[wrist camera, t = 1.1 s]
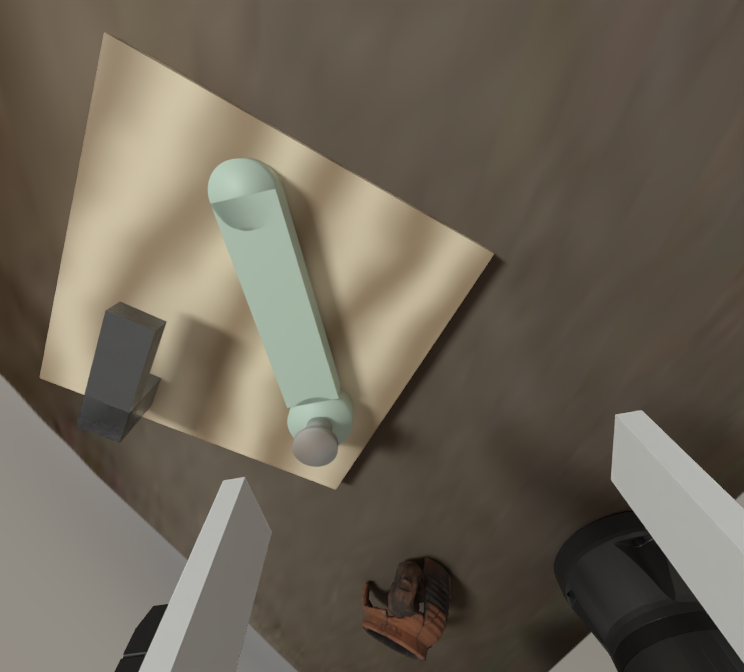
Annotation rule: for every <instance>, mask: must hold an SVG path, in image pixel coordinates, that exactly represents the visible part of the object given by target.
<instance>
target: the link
mask: <svg viewBox="0 0 744 672" xmlns="http://www.w3.org/2000/svg"><path fill="white" fill-rule="evenodd" d="M208 197H209V201H210V204H211V207H212V210H213V212H214V215H215V218H216V220H217V223H218V226H219V228H220V231H221V233H222V236H223V239H224V241H225V244H226V247H227V249H228V252H229V255H230V257H231V260H232V263H233V265H234V268H235V271H236V273H237V276H238V279H239V281H240V284H241V287H242V289H243V292H244V295H245V297H246V300H247V303H248V305H249V308H250V311H251V313H252V316H253V319H254V321H255V324H256V327H257V329H258V332H259V335H260V337H261V340H262V343H263V345H264V348H265V351H266V353H267V356H268V358H269V361H270V364H271V366H272V369H273V372H274V374H275V377H276V380H277V382H278V385H279V388H280V390H281V393H282V396H283V398H284V401H285V404H286V406H287V408H290V407H291V408H290V411H289V415H288V419H287V425H288V429H289V431H290V433H291V435H292V436H293V437H294V438H295V436H296V434H297V433H298V432H299V431H300V430H302V429H304V428H306V424H307V422H308V421H309V420H310V419H312V418H315V417H322V418H325V419H327V420H328V421H329V422H330V423H331V424H332V432H333V433H334V434H335V436H336V437H337V440H338V445H340V444H342V443H343V442H344V441H345V440H346V439H347V438H348V437H349V435H350V433H351V430H352V421H353V403H352V401H351V399H350V397H349V396H348V394H347V393H346V392H345V391H344V390H342V389H341V388H340V381H339V377H338V374H337V370H336V367H335V364H334V360H333V357H332V353H331V350H330V346H329V343H328V340H327V336H326V333H325V329H324V326H323V323H322V319H321V316H320V312H319V309H318V306H317V302H316V299H315V295H314V292H313V289H312V285H311V282H310V278H309V275H308V271H307V268H306V265H305V261H304V258H303V254H302V251H301V248H300V244H299V241H298V237H297V234H296V231H295V227H294V224H293V220H292V217H291V214H290V210H289V207H288V203H287V200H286V196H285V193H284V190H283V186H282V183H281V181H280V179H279V177H278V175H277V174H276V173H275V171H274V170H273V169H272V168H271V167H270V166H268V165H267V164H266V163H264V162H262V161H260V160H257V159H253V158H238V159H230V160H227V161H225V162H223V163H221V164H220V165H218V166H217V167H216V168H215V169H214V171H213V172H212V174H211V176H210V179H209V182H208Z"/></svg>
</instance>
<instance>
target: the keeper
mask: <svg viewBox="0 0 744 672" xmlns="http://www.w3.org/2000/svg"><path fill="white" fill-rule="evenodd" d="M166 322H167V321H164V320H162V319H160V318H157V317H155V316H153V315H150V314H148V313H146V312H144V311H141V310H139V309H137V308H134V307H132V306H130V305H127V304H125V303H123V302H118V303H117V304H115V305H113V306H112V307H110V308H108V309H107V310H105V314H104V318H103V322H102V326H101V330H100V334H99V338H98V342H97V346H96V350H95V354H94V358H93V362H92V366H91V370H90V374H89V378H88V382H87V386H86V390H85V394H84V398H83V402H82V406H81V410H80V414H79V418H78V422H77V426H76V427H77V428H80V429H83V430H85V431H88V432H91V433H94V434H97V435H99V436H102V437H105V438H108V439H110V440H113V441H116V442H119V443H120V442H121V441H122V440H123V438H124V437H125V436H126V435H127V434H128V433H129V431H130V430H131V429H132V428H133V427H134V426H135V424H136V423H137V422H138V421H139V420H140V419H141V417H142V416H143V415H144V414H145V413H146V412H147V410H148V409H149V408H150V407H151V406H152V403H153V400H154V397H155V395H156V392H157V389H158V386H159V383H160V380H161V378H160V377H158V376H155V375H153V374H150V371H151V368H152V365H153V362H154V359H155V356H156V353H157V350H158V347H159V344H160V341H161V338H162V334H163V331H164V328H165V325H166Z"/></svg>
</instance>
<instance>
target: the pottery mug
mask: <svg viewBox="0 0 744 672" xmlns="http://www.w3.org/2000/svg"><path fill="white" fill-rule="evenodd" d="M450 581H451V578H450V575H449V574H448V573H447V571H446V570H445V569H444V568H443V567H442V566H441V565H439V564H438V563H437V562H435V561H433V560H432V559H430V558H428V557H425V558H424V567H423V570H421V568H420V567H419V566H418V565H417V564H416V563H415V562H413V561H405V562H402V563H399V565H398V569H397V570H396V576H395V580H394V582H393V583H392V586H391V589H390V592H389V594H388V608H389V611H390V612H391V613H392V614H393V615H395V616H388V612H387V610H386V609H380V608H378V607H373V606H372V604H371V602H370V600H369V592H370V587H371V585H370V583H368V582H366V583H365V587H364V593H363V596H362V597H363V608H364V612H365V617H364V619H363V621H362V625H363V629H364V630H365V631H366V632H367V633H368V634H369V635H371V636H372V637H373V638H375V639H376V640H378V641H379V642H381V643H383V644H384V645H386V646H388V647H389V648H391V649H393V650H395V651H397V652H399V653H400V654H402V655H405V656H406V657H409V658H411V659H414V660H417V661H425V660H426V655H427V650H428V649H429V648H431V647H432V645H433V644H434V643H436V642H437V641H438V640H439V638H440V637H442V635H443V631H444V630H445V622H446V621H447V617H448V614H449V613H448V610H449V601H450V598H451V593H450ZM419 602H424V613H422V612H419Z"/></svg>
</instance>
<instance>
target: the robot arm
mask: <svg viewBox="0 0 744 672" xmlns="http://www.w3.org/2000/svg"><path fill="white" fill-rule="evenodd" d="M611 481H612V482H613V483H614V485H615V486H616V488H617V489H618V490H619V492H620V493H621V495H622V496H623V497H624V499H625V500H626V501H627V503H628V504H629V506H630V507H631V508H632V510H633V511H631V512H625V513H620V514H616V515H612V516H609V517H606V518H603V519H601V520H598V521H596V522H594V523H592V524H590V525H588V526H586V527H584V528H583V529H581V530H580V531H578V532H577V533H576V534H574V535H573V536H572V537H571V538H570V539H569V540H568V541H567V542H566V543H565V544H564V545H563V546H562V548H561V549H560V551H559V552H558V554H557V557H556V559H555V563H554V573H555V577H556V579H557V581H558V583H559V586H560V588H561V590H562V593H563V595H564V597H565V599H566V600H567V602H568V603H569V605H570V606H571V607H572V608H573V610H574V611H575V612H576V613H577V615H578V616H579V617H580V618H581V620H582V621H583V622H584V623H585V625H586V626H587V627H588V628H589V630H590V631H591V632H592V633H593V634H594V635H595V637H596V638H597V639H598V641H599V642H600V643H601V644H602V646H603V647H604V648H605V649H606V651H607V652H608V653H609V655H610V656H611V659H612V661H613V663H614V664H615V667H616V669H617V671H618V672H744V509H743V508H742V507H741V506H740V505H739V504H738V503H737V502H736V501H735V500H734V499H733V498H732V497H731V496H730V495H729V494H728V493H727V492H726V491H725V490H724V489H723V488H722V487H721V486H720V485H719V484H717V483H716V482H715V481H714V480H713V479H712V478H711V477H710V476H709V475H708V474H707V473H706V472H705V471H704V470H703V469H702V468H701V467H700V466H699V465H698V464H697V463H696V462H695V461H694V460H693V459H692V458H691V457H690V456H689V455H687V454H686V453H685V452H684V451H683V450H682V449H681V448H680V447H679V446H678V445H677V444H676V443H675V442H674V441H673V440H672V439H671V438H670V437H669V436H668V435H667V434H666V433H665V432H664V431H663V430H662V429H661V428H660V427H659V426H657V425H656V424H655V423H654V422H653V421H652V420H651V419H650V418H649V417H648V416H647V415H646V414H645V413H644V412H643V411H642V410H640V411H634V412H628V413H622V414H616V415H615V429H614V443H613V457H612V471H611ZM271 533H272V531H271V529H270V527H269V525H268V523H267V521H266V519H265V517H264V515H263V513H262V511H261V509H260V507H259V505H258V503H257V500H256V498H255V496H254V494H253V492H252V490H251V488H250V486H249V484H248V482H247V480H246V478H245V477H242V478H236V479H230V480H224V481H223V482H222V485H221V487H220V489H219V491H218V494H217V496H216V498H215V500H214V503H213V505H212V507H211V510H210V512H209V514H208V516H207V519H206V521H205V523H204V525H203V528H202V530H201V532H200V534H199V537H198V539H197V541H196V543H195V546H194V548H193V550H192V552H191V555H190V557H189V559H188V561H187V564H186V566H185V568H184V570H183V573H182V575H181V577H180V579H179V582H178V584H177V586H176V588H175V591H174V593H173V595H172V597H171V600H170V602H169V604H165V605H158V606H153V607H152V609H151V610H150V611H149V613H148V614H147V615H146V616H145V618H144V619H143V620H142V621H141V622H140V624H139V625H138V627H137V628H136V629H135V631H134V633H133V635H132V637H131V639H130V641H129V643H128V646H127V648H126V650H125V652H124V657H123V659H121V660H120V662H119V664H118V666H117V668H116V670H115V672H236V669H237V665H238V661H239V657H240V653H241V650H242V646H243V641H244V638H245V634H246V630H247V626H248V622H249V619H250V615H251V611H252V607H253V603H254V599H255V595H256V591H257V588H258V584H259V580H260V576H261V572H262V568H263V564H264V560H265V557H266V553H267V549H268V545H269V541H270V537H271Z"/></svg>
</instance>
